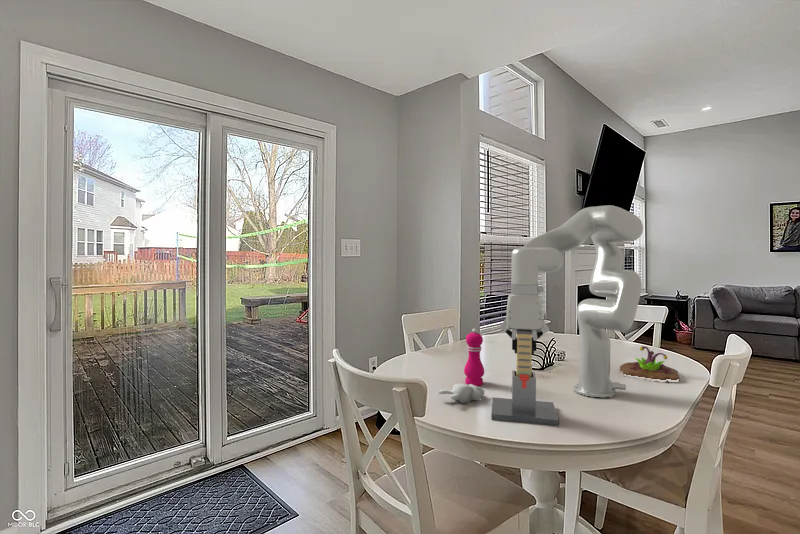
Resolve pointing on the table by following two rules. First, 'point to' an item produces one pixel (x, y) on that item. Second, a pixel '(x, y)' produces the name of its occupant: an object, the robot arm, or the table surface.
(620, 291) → the robot arm
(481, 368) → the pepper mill
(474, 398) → the grey toy animal
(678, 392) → the table surface
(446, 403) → the table surface
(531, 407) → the sleeve
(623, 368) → the plant
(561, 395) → the table surface
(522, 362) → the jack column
